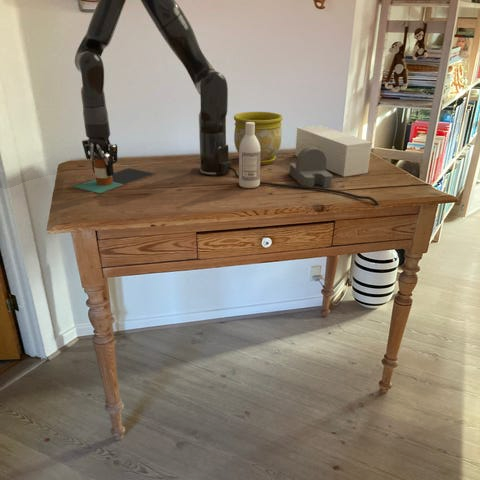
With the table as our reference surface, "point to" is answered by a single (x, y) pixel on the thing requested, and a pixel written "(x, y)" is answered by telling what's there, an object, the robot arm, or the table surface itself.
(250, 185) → the bath foam
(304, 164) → the bracket
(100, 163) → the soap bottle
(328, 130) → the white rectangular box
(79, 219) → the table surface
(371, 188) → the table surface
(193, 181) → the table surface
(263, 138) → the flowerpot
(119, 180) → the mat
